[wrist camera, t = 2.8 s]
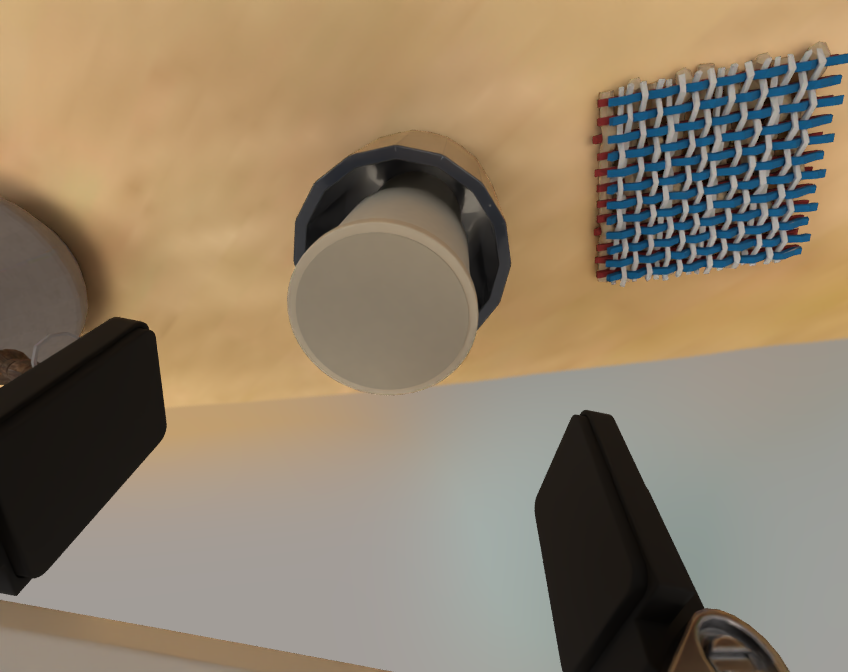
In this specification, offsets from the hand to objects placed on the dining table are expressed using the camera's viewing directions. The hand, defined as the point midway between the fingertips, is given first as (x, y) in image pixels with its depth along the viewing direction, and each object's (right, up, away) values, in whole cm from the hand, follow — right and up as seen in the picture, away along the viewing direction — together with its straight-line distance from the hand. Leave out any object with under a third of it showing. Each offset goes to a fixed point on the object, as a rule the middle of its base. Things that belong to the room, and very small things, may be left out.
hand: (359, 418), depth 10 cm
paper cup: (+1, +8, +15) cm, 17 cm away
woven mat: (+16, +10, +14) cm, 23 cm away
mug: (+1, +7, +16) cm, 18 cm away
